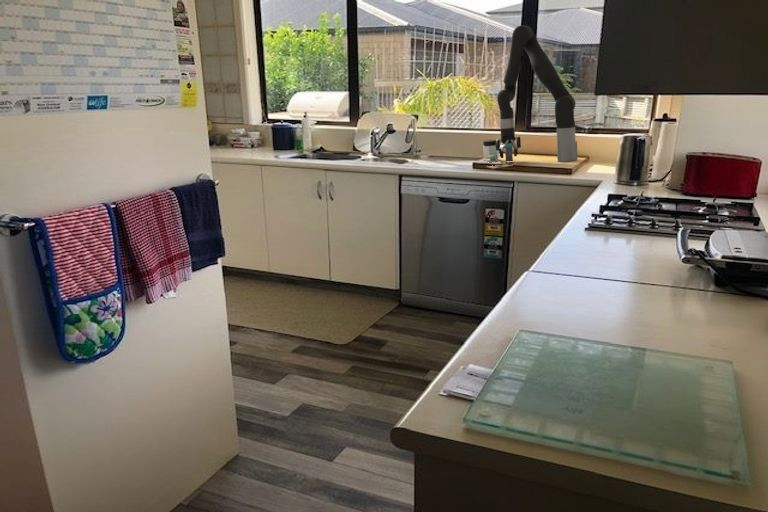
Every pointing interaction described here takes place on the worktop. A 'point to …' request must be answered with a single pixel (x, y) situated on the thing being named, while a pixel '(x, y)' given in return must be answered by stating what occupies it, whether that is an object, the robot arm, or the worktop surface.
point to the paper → (498, 166)
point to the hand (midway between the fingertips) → (508, 157)
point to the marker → (508, 152)
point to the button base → (493, 160)
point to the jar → (490, 148)
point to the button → (492, 157)
